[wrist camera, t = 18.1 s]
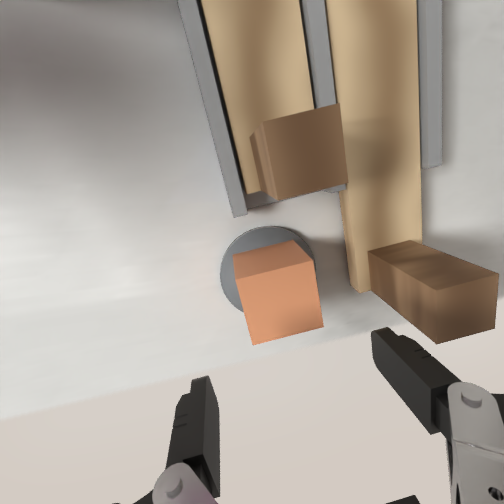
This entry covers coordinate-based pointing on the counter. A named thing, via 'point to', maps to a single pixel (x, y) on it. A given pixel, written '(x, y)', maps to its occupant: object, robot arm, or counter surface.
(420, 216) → the oak strip
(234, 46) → the oak strip
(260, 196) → the lane frame
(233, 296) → the slate coaster
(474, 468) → the robot arm
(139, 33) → the counter surface
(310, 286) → the rust cube
